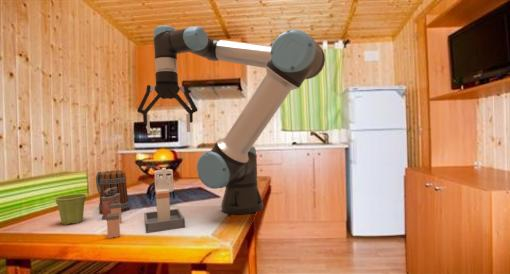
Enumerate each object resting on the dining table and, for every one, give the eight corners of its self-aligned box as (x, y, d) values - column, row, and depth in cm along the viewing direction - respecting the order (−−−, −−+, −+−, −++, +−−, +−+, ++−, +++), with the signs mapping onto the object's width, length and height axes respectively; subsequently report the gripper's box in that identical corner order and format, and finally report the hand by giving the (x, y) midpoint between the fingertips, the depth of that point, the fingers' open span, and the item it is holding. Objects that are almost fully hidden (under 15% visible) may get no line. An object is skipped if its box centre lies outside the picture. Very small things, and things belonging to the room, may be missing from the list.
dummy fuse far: (122, 220, 103) (121, 202, 103) (121, 223, 100) (120, 204, 100) (111, 222, 102) (110, 203, 101) (110, 224, 99) (110, 205, 98)
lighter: (108, 219, 104) (107, 190, 104) (99, 219, 105) (98, 190, 105) (123, 213, 112) (121, 186, 112) (114, 213, 113) (113, 186, 113)
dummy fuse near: (120, 233, 89) (119, 212, 89) (120, 236, 86) (119, 215, 86) (108, 235, 88) (107, 214, 88) (107, 238, 85) (106, 217, 85)
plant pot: (48, 225, 101) (47, 198, 100) (74, 217, 109) (73, 193, 109) (69, 227, 97) (68, 199, 97) (94, 219, 106) (93, 194, 106)
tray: (178, 216, 106) (178, 208, 105) (185, 227, 93) (184, 218, 92) (144, 220, 101) (144, 212, 101) (146, 232, 88) (145, 223, 88)
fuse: (169, 219, 99) (168, 188, 99) (170, 222, 96) (169, 190, 96) (157, 221, 98) (155, 189, 98) (158, 224, 95) (156, 191, 94)
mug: (135, 209, 119) (133, 170, 119) (109, 215, 110) (107, 173, 110) (111, 205, 127) (109, 169, 127) (85, 211, 118) (84, 172, 118)
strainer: (156, 207, 120) (155, 169, 119) (155, 204, 126) (153, 167, 126) (175, 205, 122) (173, 167, 122) (172, 202, 129) (171, 166, 129)
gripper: (199, 75, 116) (202, 131, 116) (128, 73, 107) (131, 134, 107) (204, 71, 109) (206, 131, 109) (127, 68, 100) (130, 133, 100)
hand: (169, 132), depth 108 cm, fingers open, 13 cm apart
